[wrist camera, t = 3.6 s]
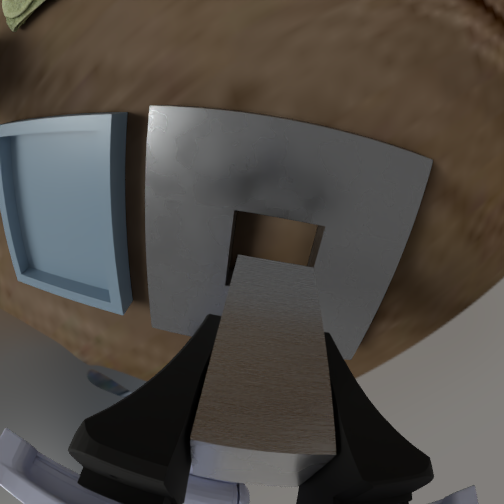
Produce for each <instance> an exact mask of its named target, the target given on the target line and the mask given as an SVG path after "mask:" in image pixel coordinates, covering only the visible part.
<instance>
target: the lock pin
mask: <svg viewBox="0 0 504 504" xmlns="http://www.w3.org/2000/svg"><path fill="white" fill-rule="evenodd" d="M190 447H191V458H192V468H193V475H197V476H201V477H206V478H212V479H218V480H224V481H230V482H237V483H245V484H255V485H267V486H280V487H298V486H300V485H301V484H302V483H303V482H305V481H306V480H307V479H309V478H310V477H311V476H312V475H313V474H315V473H316V472H317V471H318V470H319V469H321V468H322V467H323V466H324V465H325V464H326V463H328V462H329V461H330V460H331V459H332V458H333V457H334V456H335V455H336V441H335V428H334V416H333V405H332V395H331V385H330V376H329V367H328V359H327V351H326V343H325V336H324V329H323V322H322V315H321V308H320V302H319V295H318V289H317V283H316V277H315V271H314V268H313V267H308V266H302V265H296V264H290V263H284V262H278V261H273V260H267V259H261V258H255V257H249V256H244V255H238V257H237V261H236V264H235V268H234V272H233V275H232V279H231V283H230V287H229V290H228V294H227V298H226V301H225V305H224V309H223V313H222V316H221V320H220V324H219V328H218V332H217V335H216V339H215V343H214V347H213V351H212V354H211V358H210V362H209V366H208V370H207V374H206V377H205V381H204V385H203V389H202V393H201V397H200V401H199V405H198V409H197V413H196V417H195V421H194V425H193V429H192V433H191V437H190Z"/></svg>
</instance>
